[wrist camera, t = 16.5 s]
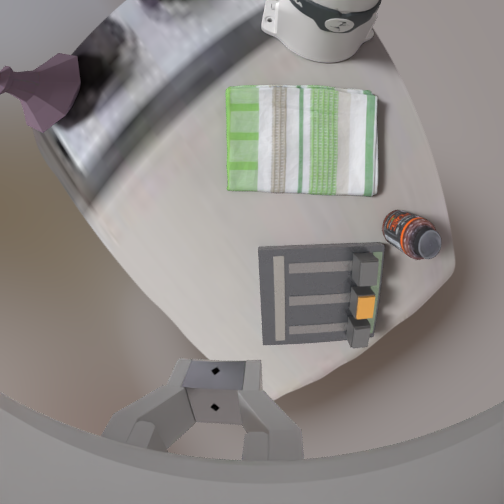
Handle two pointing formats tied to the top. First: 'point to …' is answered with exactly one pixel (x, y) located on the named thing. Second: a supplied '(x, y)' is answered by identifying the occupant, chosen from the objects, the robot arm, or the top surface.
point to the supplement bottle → (411, 234)
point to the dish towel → (302, 140)
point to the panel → (310, 291)
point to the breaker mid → (362, 302)
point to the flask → (44, 89)
